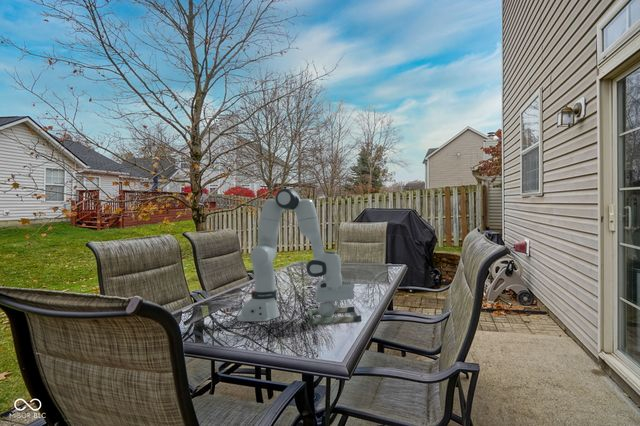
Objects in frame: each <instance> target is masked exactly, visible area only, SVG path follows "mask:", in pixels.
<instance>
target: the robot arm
mask: <svg viewBox="0 0 640 426" xmlns="http://www.w3.org/2000/svg"><path fill="white" fill-rule="evenodd" d="M285 211H294V213H295V215H296V219H297V225H298V229H299V231H300V233H301V234H302V236H304V237H305V238H307V239H308V240H309V242H310V244H311V249H312V254H313V259H311V260H309V261H308V262H307V264H306V265H305V267H306V273H307V275H308V276H310V277H312V278H319V277H323V276H324V279H322V280H320V281H318V282H317V283H316V286H317V287H316V289H315V301H316V303H322V302H331V303H332V305H333V307H334V309H338V307H339V306H340V304H341V301H347V300H354V298H355V291H354V289H355V285H354V282H353V281H351V280H348V281H347V280H346V281H343V275H342V262H341V256H340V254H339V253H338V252H336V251H333V250H332V251H331V250H329V251H328V250H327V251H325V247H324V243H323V239H322V238H323V237H322V235H321V229H320V223H319V222H320V221H319V217H318V212H317V208H316V206H315V202H314V201H313V200H312V199H310V198H301V195H300V193H299V192H297V191H296V190H294V189H292V188H282V189H279V191H277V193H276V195H275V198H269V199H267V200H264V203H263V206H262V209H261V212H260V216H259V217H260V218H259V222H258V228H257V245H256V246H255V247H254V248H253V249H252V250H251V252H250V255H249V258H250V261H251V266H252V270H253V274H254V276H253V277H254V289H253V290H251V295H250V296H251V298H250V299H249V300H248V301H247V302H246V303H245V304H243V306H242V308H241V311H240V313H239V314H238V315H237V318H236V320H237V322H267V321H270V320H274V319H277V318H279V317H280V316H281V314H280V312H279V308H278V301H277V300H278V291H277V289H276V286H277V285H276V273H275V270H274V263H273V261H275V260H276V258H277V251H278V237H279V230H280V224H281V218H282V214H283V212H285ZM335 302H337V303H336V305H335V304H334V303H335Z"/></svg>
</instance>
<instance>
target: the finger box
mask: <svg viewBox="0 0 640 426" xmlns="http://www.w3.org/2000/svg"><path fill="white" fill-rule="evenodd" d="M317 309H318V308H309V309H308V314H309V322H310V325H321V324H322V325H324V324H335V323H337V324H338V323H352V322H362V315H361V314H357V313H356V310H355V306H340V307H339V306H338V309H335V312H334V314H338V313H348V314H349V315H343V316H332V317H327V318H322V317H315V318H314V316H313V315H320V314H319V312H318V310H317Z"/></svg>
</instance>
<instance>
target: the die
mask: <svg viewBox="0 0 640 426" xmlns="http://www.w3.org/2000/svg"><path fill="white" fill-rule="evenodd" d="M316 309H317V310H318V312H319V314H318V315H320V318H327V317H333V316H334V314H335V313H334V312H335V309H334V307H333V305H332V303H331V301H328V302H320V304H319V306H318V308H316Z"/></svg>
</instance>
